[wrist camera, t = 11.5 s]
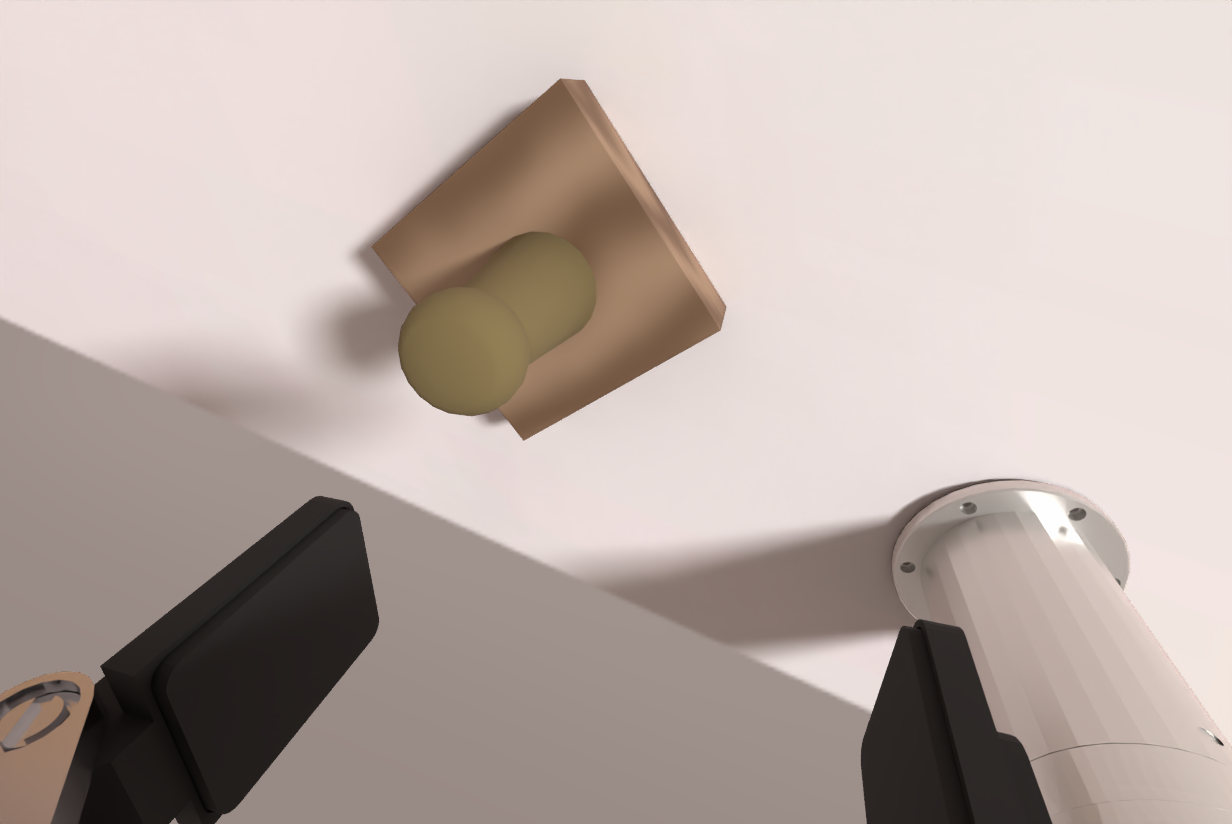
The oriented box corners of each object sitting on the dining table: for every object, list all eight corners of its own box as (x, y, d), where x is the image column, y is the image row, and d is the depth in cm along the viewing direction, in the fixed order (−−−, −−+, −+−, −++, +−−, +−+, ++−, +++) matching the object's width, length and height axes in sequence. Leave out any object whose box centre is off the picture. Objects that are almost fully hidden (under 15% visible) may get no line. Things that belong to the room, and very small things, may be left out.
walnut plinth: (726, 306, 35) (720, 330, 31) (545, 411, 41) (523, 440, 37) (584, 80, 31) (560, 78, 27) (409, 232, 37) (371, 246, 34)
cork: (604, 338, 33) (534, 438, 23) (503, 344, 34) (399, 439, 25) (586, 225, 30) (499, 285, 21) (478, 237, 32) (350, 298, 22)
